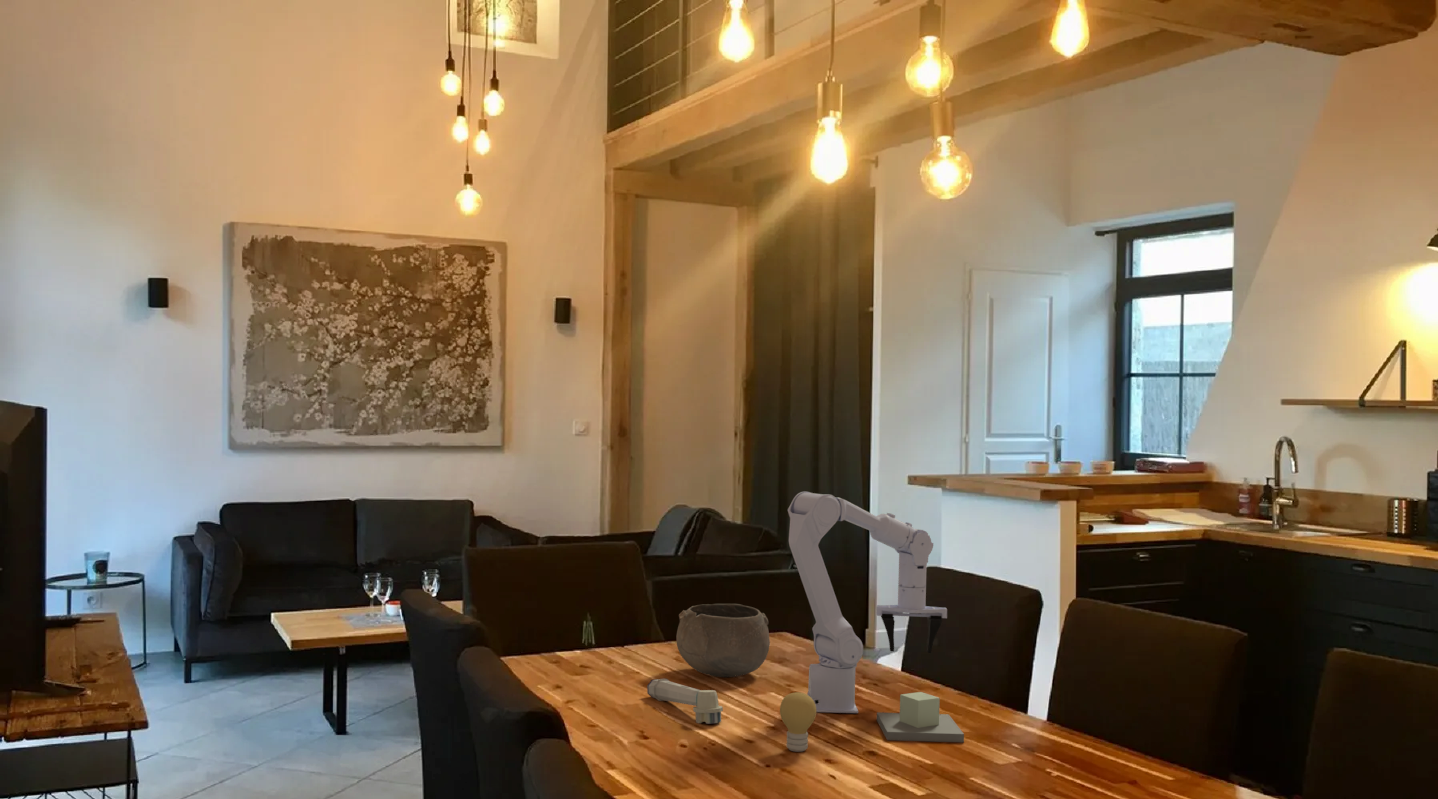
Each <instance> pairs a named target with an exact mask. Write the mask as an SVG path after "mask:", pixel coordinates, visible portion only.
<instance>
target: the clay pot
mask: <svg viewBox="0 0 1438 799" xmlns="http://www.w3.org/2000/svg"><path fill="white" fill-rule="evenodd" d="M678 618H679V623H678V627H677V630H676V648H677V650H678V653H679V654H680V656H681V657H682V659H683V660H684V662H685V663H687V664H688V665H689V667H691V668H692V669H694V670H695V671H697V672H698V673H701V674H703V675H708V676H711V677H717V678H734V677H740V676H746V675H748V674H750V673H752V672H754V671H756V670H758V669H759V668H761V666H762V665H763V663H764V662H765V660H766V659H767V656H768V654H769V650H770V645H771V641H770V633H769V626H768V625H769V619H768V617H767V615H766V614H765V613H764V612H761V611H760V610H759V609H758V608H755V607H752V606H749V605H743V604H740V603H712V604H709V603H707V604H704V603H703V604H697V605H692V606H691V607H689V608H687V609H686V610H684V609H683V610H682V611H681V612H680V613H679V614H678Z"/></svg>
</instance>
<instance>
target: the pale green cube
mask: <svg viewBox="0 0 1438 799" xmlns="http://www.w3.org/2000/svg"><path fill="white" fill-rule="evenodd" d="M940 700H941V698H940V697H938V696H935V695H932V694H930V693H925V692H922V691H917V692H910V693H903V694H902V693H901V694H899V713H900V721H901V722H903V723H906V724H909V725H912V726H914V727H917V728H920V727H926V726H933V725H939V714H940V704H941V703H940Z"/></svg>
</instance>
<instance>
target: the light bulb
mask: <svg viewBox="0 0 1438 799" xmlns="http://www.w3.org/2000/svg"><path fill="white" fill-rule="evenodd" d="M781 700H782V701H781V702H780V706H779V715H780V717H781V720H782V722H783V724H784V725H785V726H786V728H787V731H786V748H787V749H788V750H789V751H791V752H795V753H797V752H798V753H799V752H801V753H802V752H805V751H806V750H807V749H808V747H809V745H808V744H809V743H808V742H809V738H808V737H809V732H808V729H809V728H810V727H811V726H812V725H813V723H814V721H815V719H816V716H817V712H816V705H815V703H814V701H813V699H812V698H811V697H810V696H808V695H807V693H804V692H799V691H798V692H797V691H795V692H792V693H788V694H787V695H785V696H784V697H783V699H781Z"/></svg>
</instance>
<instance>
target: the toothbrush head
mask: <svg viewBox="0 0 1438 799" xmlns="http://www.w3.org/2000/svg"><path fill="white" fill-rule="evenodd" d="M646 689H647V692H646V693H647V694H648V696H649V697H650V698H653V699H656V700H657V701H658V702H660V701H661V702H663V701H666V702H673V703H677V704H683V705H689V706H693V709H692V710H693V712H694V713H695V723H697V724H703V723H704V722H705V724H719V723H721V722H722V712H723V711H724V708H723V705H719V697H718V693H717V691H716V690H713V689H711V690H710V689H707V690H706V689H703V690H702V689H701V690H700V689H698V688H694V687H690V686H687V685H683V684H680V683H676V682H673V681H670V680H669V679H668V678H660V679H651V680H650V682H649V683H648V684H647V685H646Z"/></svg>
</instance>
